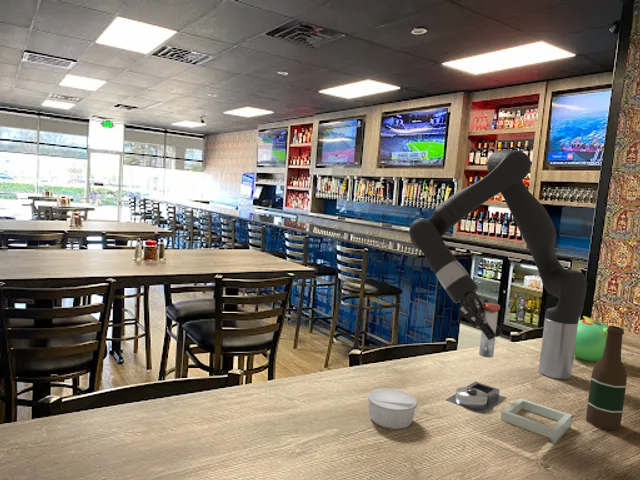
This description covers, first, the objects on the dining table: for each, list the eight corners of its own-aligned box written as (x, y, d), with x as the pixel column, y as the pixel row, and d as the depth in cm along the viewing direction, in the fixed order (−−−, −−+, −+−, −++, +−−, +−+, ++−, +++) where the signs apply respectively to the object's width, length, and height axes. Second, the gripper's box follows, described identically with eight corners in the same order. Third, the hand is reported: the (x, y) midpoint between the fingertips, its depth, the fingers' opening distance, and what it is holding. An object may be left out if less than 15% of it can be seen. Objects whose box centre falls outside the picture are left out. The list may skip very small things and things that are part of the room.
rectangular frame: (518, 409, 122) (520, 397, 122) (570, 427, 114) (571, 415, 114) (500, 423, 113) (501, 411, 113) (554, 444, 105) (556, 430, 105)
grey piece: (470, 389, 133) (471, 374, 132) (506, 401, 126) (508, 385, 126) (444, 403, 122) (446, 387, 121) (482, 418, 115) (484, 401, 115)
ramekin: (384, 435, 103) (386, 411, 103) (356, 413, 113) (358, 391, 112) (425, 427, 108) (427, 404, 108) (395, 406, 118) (397, 385, 118)
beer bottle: (627, 433, 113) (641, 333, 111) (590, 428, 114) (604, 329, 112) (613, 419, 120) (627, 325, 118) (580, 414, 122) (592, 321, 120)
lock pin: (481, 351, 128) (486, 302, 127) (497, 355, 125) (502, 305, 124) (475, 354, 125) (480, 304, 124) (490, 359, 122) (496, 307, 121)
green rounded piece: (567, 348, 181) (572, 310, 180) (619, 360, 171) (625, 319, 170) (558, 359, 167) (563, 317, 165) (615, 372, 157) (621, 328, 156)
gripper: (454, 275, 123) (496, 333, 116) (478, 271, 133) (517, 324, 127) (433, 292, 127) (473, 349, 120) (458, 286, 138) (495, 339, 131)
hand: (495, 336), depth 123 cm, fingers closed on lock pin, 3 cm apart
